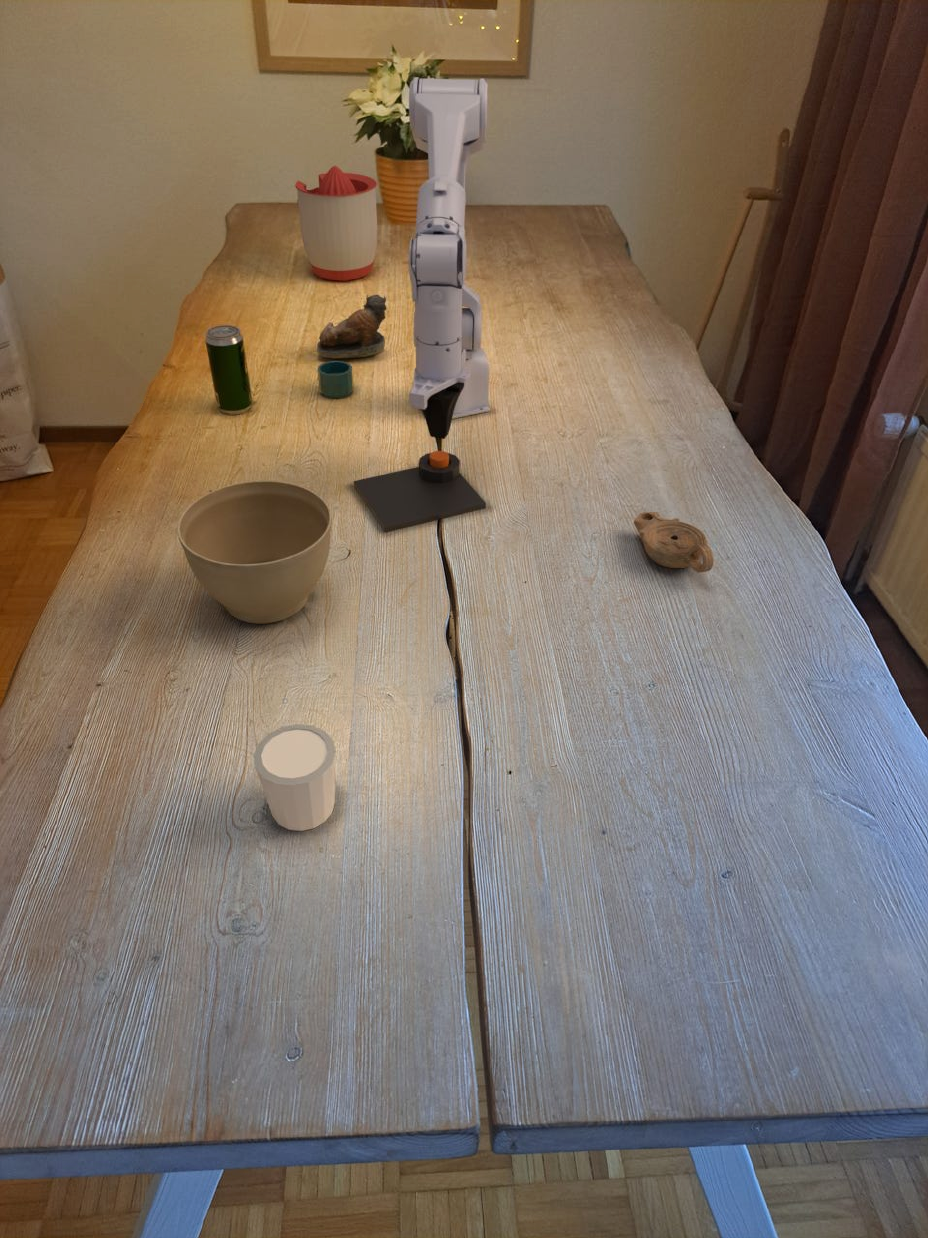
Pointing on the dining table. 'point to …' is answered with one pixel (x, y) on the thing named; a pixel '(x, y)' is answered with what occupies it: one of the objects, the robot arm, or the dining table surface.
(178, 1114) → the dining table surface
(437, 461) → the button
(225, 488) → the planter bowl
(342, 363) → the teal cup
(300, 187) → the citrus juicer
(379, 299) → the bison figurine
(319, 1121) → the dining table surface
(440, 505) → the scale
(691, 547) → the oil lamp
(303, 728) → the beige cylinder
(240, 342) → the beer can
